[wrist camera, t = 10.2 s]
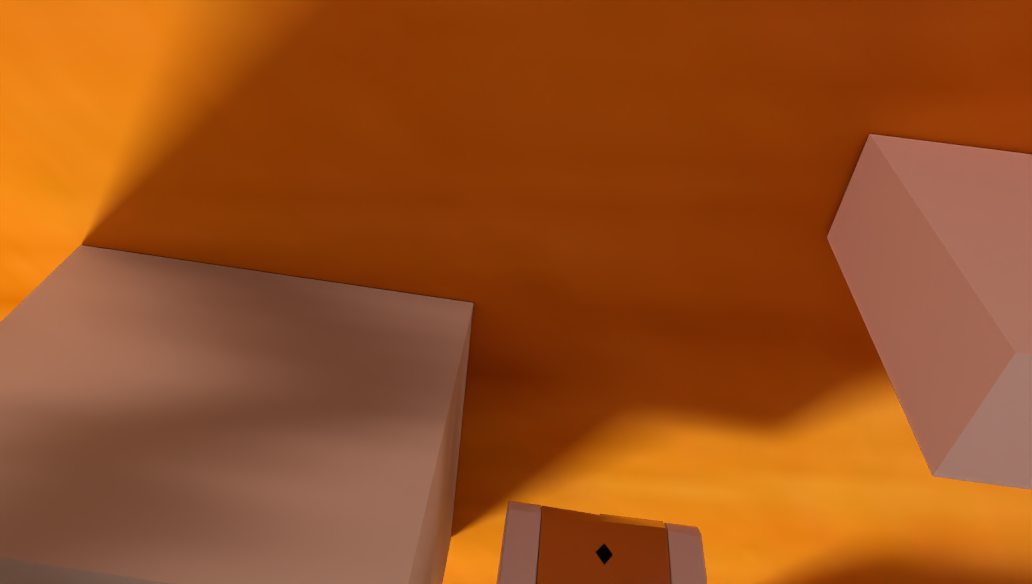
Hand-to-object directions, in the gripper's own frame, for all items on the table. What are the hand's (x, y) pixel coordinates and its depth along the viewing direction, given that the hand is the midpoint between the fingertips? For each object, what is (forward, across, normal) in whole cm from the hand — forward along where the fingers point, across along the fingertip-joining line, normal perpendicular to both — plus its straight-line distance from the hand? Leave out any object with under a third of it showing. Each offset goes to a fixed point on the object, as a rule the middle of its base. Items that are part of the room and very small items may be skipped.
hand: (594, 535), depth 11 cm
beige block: (+2, +5, 0) cm, 6 cm away
